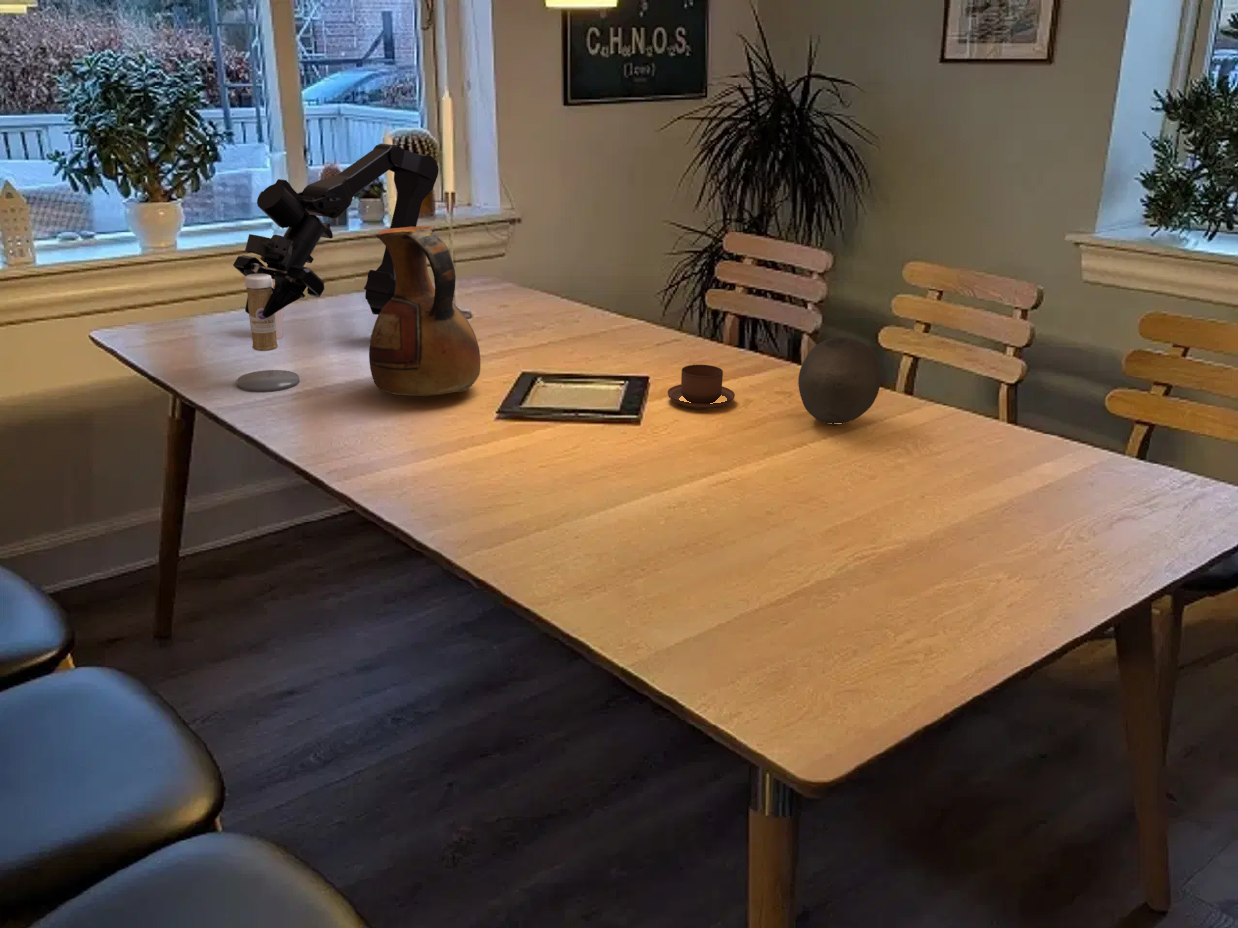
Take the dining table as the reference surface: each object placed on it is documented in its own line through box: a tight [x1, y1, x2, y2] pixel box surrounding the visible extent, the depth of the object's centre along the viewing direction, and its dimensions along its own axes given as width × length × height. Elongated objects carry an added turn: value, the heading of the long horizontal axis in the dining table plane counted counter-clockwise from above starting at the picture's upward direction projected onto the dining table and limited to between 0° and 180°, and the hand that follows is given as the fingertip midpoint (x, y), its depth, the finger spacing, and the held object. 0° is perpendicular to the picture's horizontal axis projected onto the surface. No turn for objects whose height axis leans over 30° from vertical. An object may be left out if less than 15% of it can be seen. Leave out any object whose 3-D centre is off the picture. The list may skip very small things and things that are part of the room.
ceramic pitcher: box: [368, 225, 481, 397], centre depth 196 cm, size 20×20×30 cm
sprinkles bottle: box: [244, 274, 279, 352], centre depth 200 cm, size 5×5×13 cm
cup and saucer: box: [667, 364, 736, 410], centre depth 199 cm, size 12×12×6 cm
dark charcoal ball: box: [797, 336, 882, 425], centre depth 187 cm, size 14×14×15 cm
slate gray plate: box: [236, 369, 300, 393], centre depth 205 cm, size 11×11×1 cm
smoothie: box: [272, 279, 285, 340], centre depth 232 cm, size 6×6×14 cm
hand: (255, 314), depth 199 cm, fingers closed on sprinkles bottle, 4 cm apart
